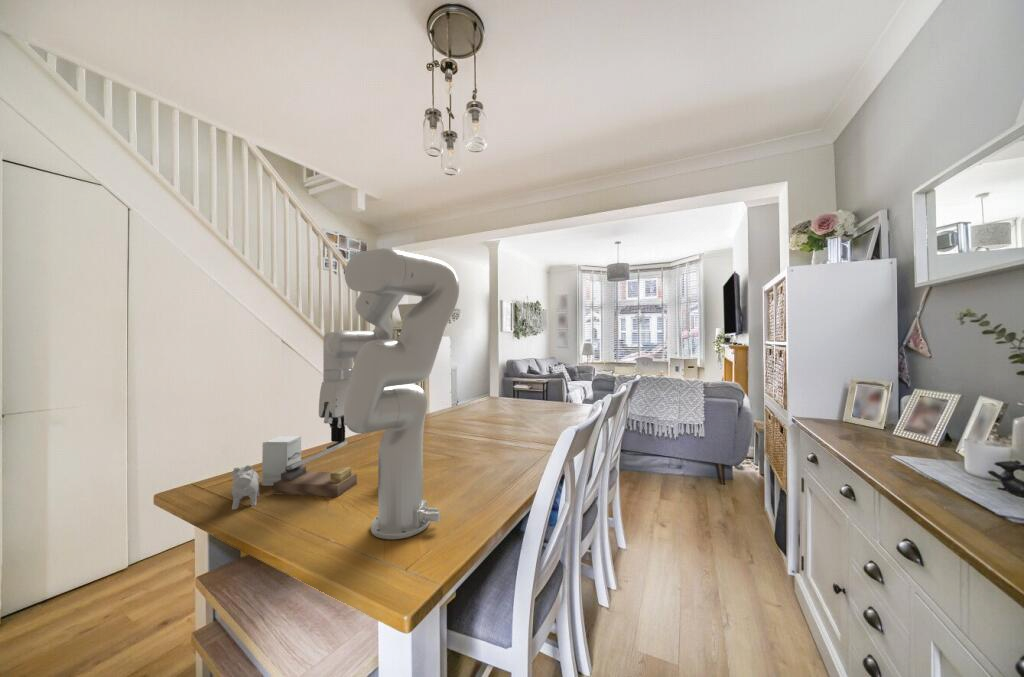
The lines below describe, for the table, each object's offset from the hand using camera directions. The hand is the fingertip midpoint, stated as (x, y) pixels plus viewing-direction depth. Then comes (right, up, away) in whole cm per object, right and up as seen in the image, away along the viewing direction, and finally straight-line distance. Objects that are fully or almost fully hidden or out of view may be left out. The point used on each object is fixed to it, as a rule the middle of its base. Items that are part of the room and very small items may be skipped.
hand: (338, 440), depth 100 cm
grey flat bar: (-6, -5, +1) cm, 8 cm away
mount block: (-6, -14, 0) cm, 15 cm away
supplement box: (-20, -14, +6) cm, 25 cm away
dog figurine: (-19, -14, -9) cm, 25 cm away
